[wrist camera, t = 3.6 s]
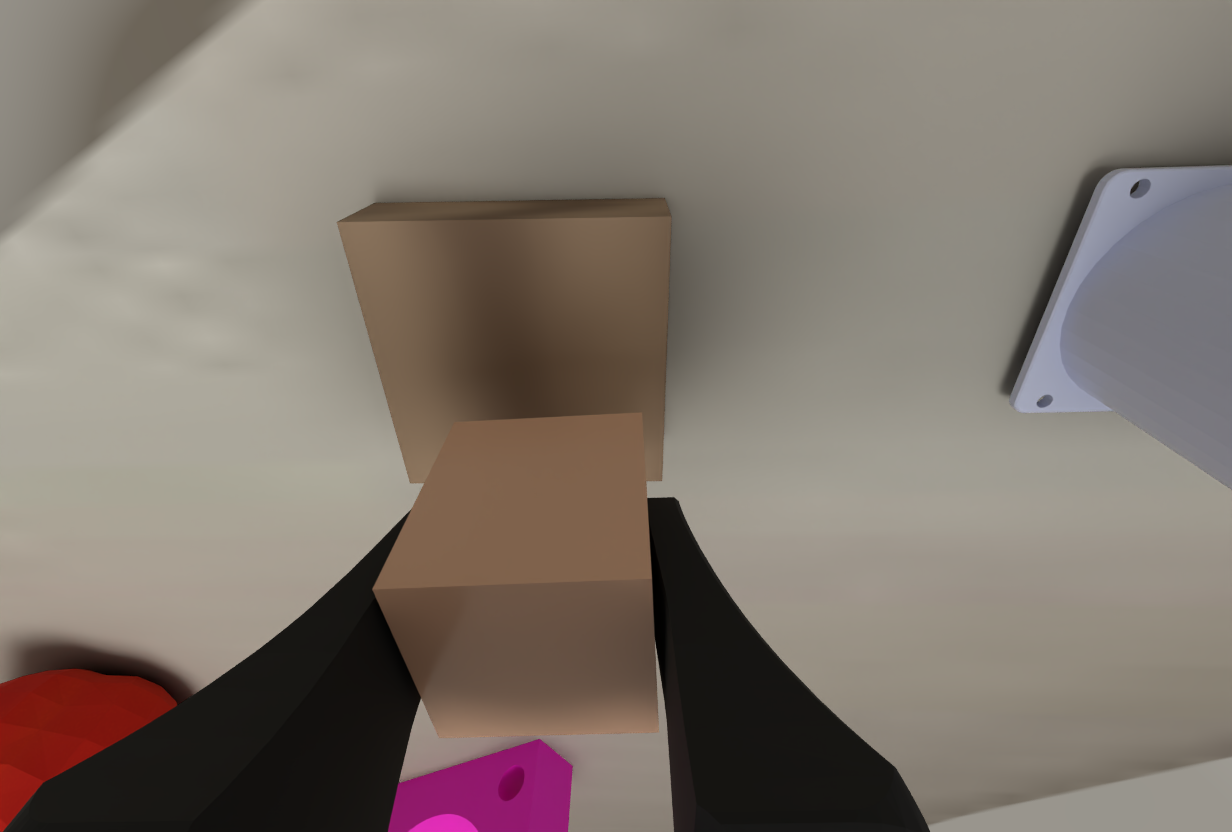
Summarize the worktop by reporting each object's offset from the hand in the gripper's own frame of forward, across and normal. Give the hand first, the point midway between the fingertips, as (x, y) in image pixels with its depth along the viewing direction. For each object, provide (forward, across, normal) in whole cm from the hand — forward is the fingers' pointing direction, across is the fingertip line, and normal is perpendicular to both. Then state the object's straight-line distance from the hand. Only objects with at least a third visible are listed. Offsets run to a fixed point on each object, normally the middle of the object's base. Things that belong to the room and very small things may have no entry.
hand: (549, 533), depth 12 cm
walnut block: (+9, +1, -1) cm, 9 cm away
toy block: (+9, +9, +32) cm, 34 cm away
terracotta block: (+2, 0, 0) cm, 2 cm away
